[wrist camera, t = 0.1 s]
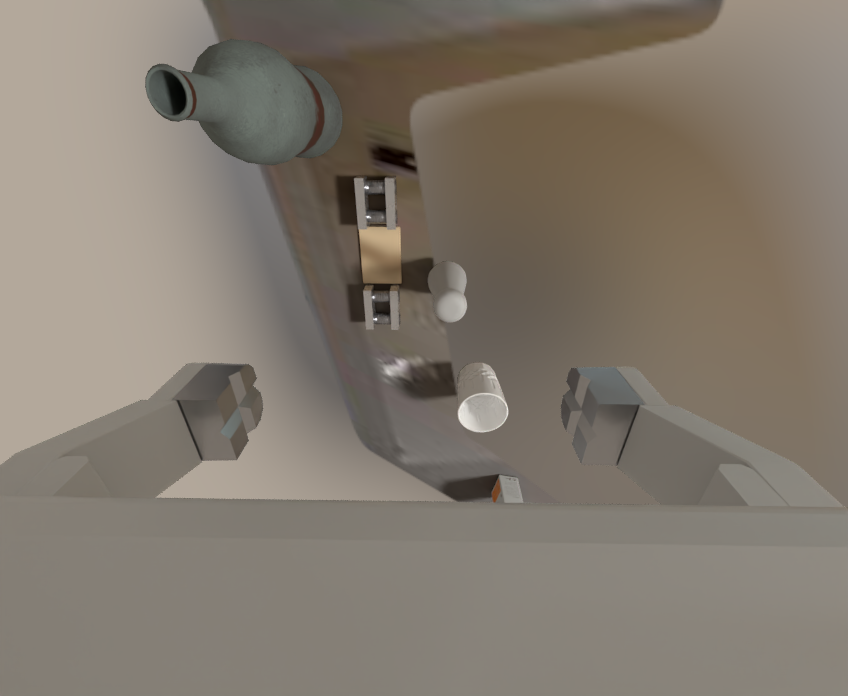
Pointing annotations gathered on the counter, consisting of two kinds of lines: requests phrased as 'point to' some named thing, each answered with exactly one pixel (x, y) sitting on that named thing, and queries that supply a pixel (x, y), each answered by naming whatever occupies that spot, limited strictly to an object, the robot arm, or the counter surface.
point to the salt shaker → (448, 291)
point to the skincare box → (507, 490)
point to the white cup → (480, 398)
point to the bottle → (251, 102)
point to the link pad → (381, 255)
